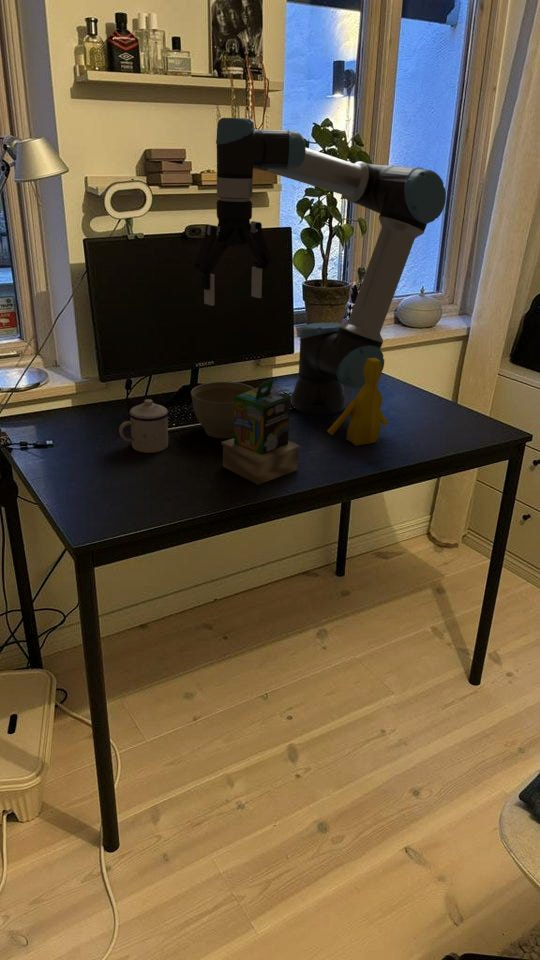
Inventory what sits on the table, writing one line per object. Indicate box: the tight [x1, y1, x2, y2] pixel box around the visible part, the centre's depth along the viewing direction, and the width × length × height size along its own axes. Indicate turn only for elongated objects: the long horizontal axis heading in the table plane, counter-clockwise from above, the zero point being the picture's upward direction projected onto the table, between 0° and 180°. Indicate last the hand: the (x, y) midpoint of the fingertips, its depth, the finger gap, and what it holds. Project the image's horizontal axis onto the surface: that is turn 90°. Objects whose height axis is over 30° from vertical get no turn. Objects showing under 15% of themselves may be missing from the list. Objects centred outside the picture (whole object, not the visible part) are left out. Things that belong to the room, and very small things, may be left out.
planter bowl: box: [190, 381, 254, 439], centre depth 182 cm, size 16×16×11 cm
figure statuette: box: [326, 357, 389, 446], centre depth 177 cm, size 18×8×22 cm, turn 116°
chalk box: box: [234, 379, 292, 455], centre depth 160 cm, size 9×9×15 cm
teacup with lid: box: [118, 398, 169, 454], centre depth 172 cm, size 12×9×12 cm
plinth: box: [220, 438, 302, 485], centre depth 164 cm, size 13×13×6 cm
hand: (233, 300), depth 163 cm, fingers open, 13 cm apart
